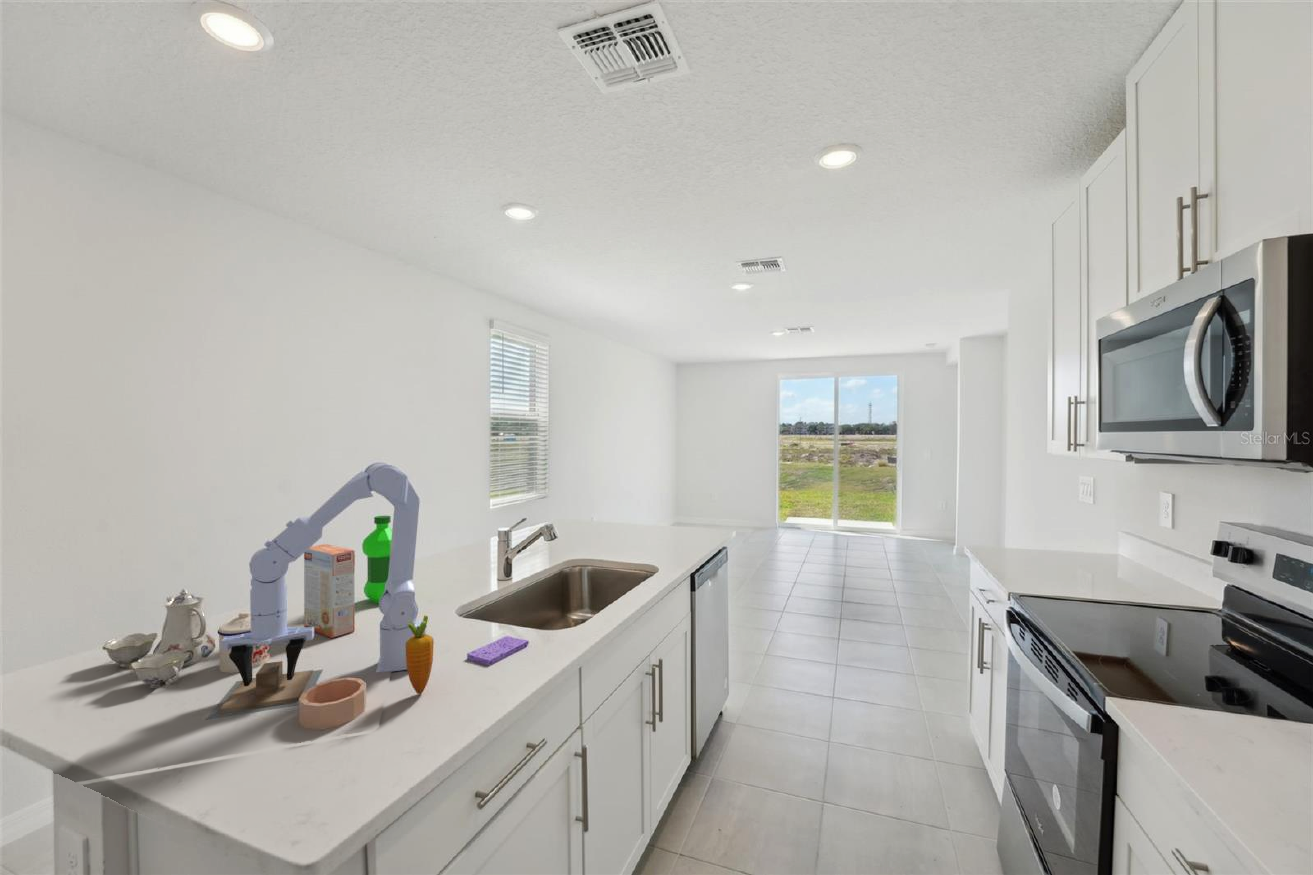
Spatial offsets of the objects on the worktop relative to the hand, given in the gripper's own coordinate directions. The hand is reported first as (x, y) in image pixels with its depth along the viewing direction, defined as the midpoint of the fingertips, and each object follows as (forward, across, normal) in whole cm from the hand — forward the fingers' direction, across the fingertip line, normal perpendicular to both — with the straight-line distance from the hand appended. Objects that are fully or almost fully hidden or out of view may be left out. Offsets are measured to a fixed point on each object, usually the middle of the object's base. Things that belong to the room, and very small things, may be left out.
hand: (269, 680), depth 103 cm
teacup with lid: (+3, -8, +18) cm, 20 cm away
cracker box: (+3, +4, +34) cm, 34 cm away
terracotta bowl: (+3, +13, -13) cm, 19 cm away
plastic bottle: (+3, +14, +55) cm, 57 cm away
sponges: (+3, +43, +5) cm, 43 cm away
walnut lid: (+2, 0, 0) cm, 2 cm away
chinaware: (+3, -24, +22) cm, 33 cm away
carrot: (+3, +27, -10) cm, 29 cm away
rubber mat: (+3, 0, 0) cm, 3 cm away
